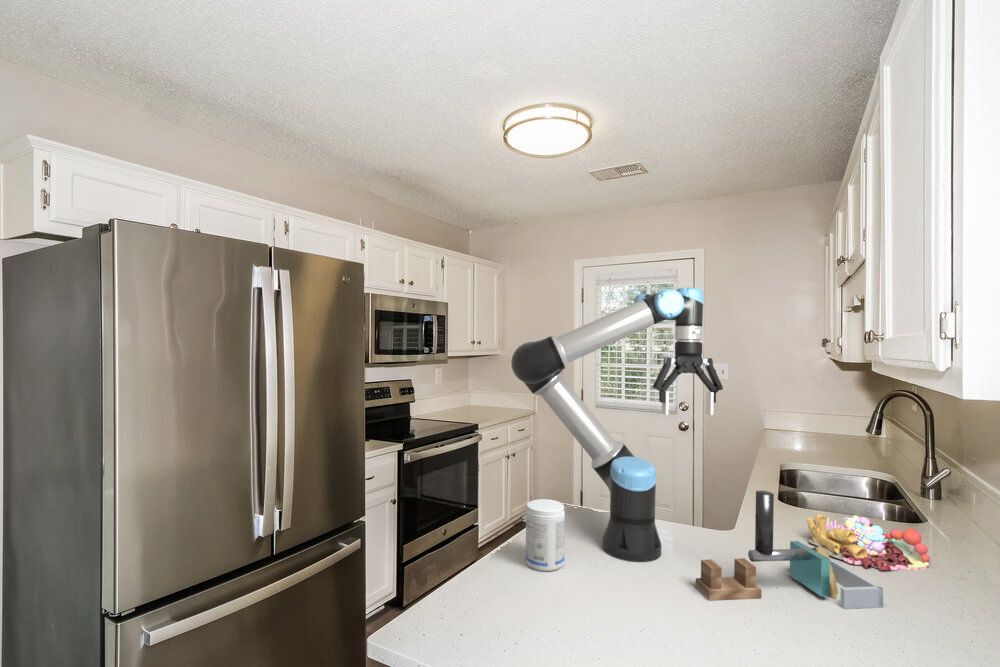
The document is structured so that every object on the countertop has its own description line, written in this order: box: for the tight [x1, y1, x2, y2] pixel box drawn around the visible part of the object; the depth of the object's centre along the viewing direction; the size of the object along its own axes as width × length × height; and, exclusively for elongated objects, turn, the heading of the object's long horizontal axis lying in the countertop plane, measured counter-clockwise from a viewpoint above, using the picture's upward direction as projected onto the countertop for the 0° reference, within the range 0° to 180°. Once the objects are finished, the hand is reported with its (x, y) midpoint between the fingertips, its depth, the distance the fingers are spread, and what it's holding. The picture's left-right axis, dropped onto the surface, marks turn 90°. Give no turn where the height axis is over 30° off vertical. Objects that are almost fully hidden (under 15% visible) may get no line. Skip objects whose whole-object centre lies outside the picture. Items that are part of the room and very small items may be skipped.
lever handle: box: [747, 490, 831, 597], centre depth 116 cm, size 15×10×21 cm, turn 97°
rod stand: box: [695, 557, 762, 601], centre depth 114 cm, size 12×6×6 cm, turn 97°
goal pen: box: [830, 558, 884, 610], centre depth 117 cm, size 9×17×4 cm, turn 7°
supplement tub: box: [525, 498, 566, 572], centre depth 127 cm, size 10×10×15 cm
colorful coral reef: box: [806, 513, 931, 572], centre depth 138 cm, size 25×24×9 cm
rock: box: [810, 546, 839, 600], centre depth 118 cm, size 10×8×10 cm
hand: (687, 414), depth 149 cm, fingers open, 13 cm apart
